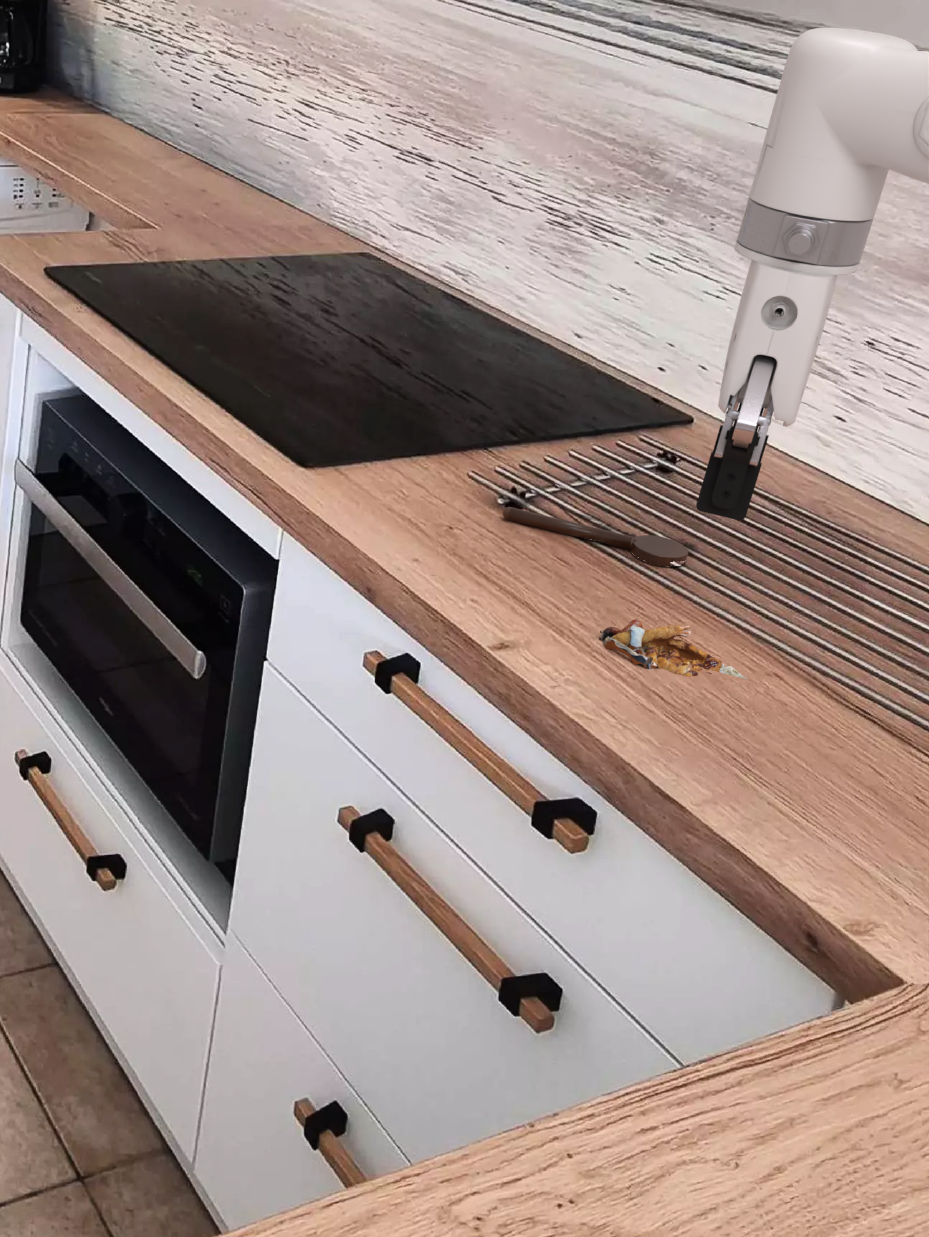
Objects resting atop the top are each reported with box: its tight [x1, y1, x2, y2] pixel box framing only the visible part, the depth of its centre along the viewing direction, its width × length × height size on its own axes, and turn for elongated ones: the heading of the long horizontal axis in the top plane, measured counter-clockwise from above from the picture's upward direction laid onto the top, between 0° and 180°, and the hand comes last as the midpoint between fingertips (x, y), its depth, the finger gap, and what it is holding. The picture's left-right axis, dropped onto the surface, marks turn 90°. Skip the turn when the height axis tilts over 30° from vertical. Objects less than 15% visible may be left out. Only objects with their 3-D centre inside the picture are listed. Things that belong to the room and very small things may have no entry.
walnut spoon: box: [502, 506, 689, 567], centre depth 152 cm, size 16×5×1 cm, turn 66°
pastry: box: [598, 618, 748, 681], centre depth 129 cm, size 7×12×4 cm, turn 73°
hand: (724, 496), depth 115 cm, fingers open, 5 cm apart
